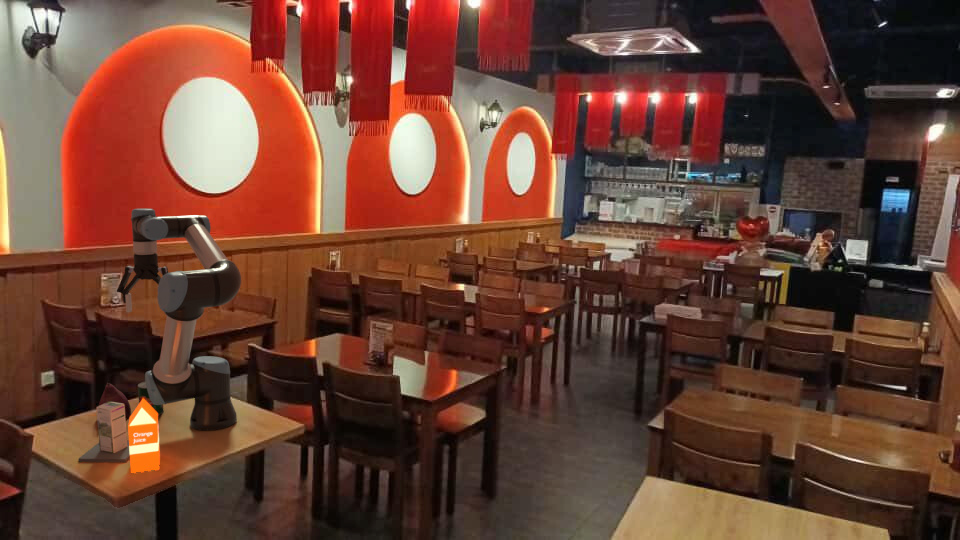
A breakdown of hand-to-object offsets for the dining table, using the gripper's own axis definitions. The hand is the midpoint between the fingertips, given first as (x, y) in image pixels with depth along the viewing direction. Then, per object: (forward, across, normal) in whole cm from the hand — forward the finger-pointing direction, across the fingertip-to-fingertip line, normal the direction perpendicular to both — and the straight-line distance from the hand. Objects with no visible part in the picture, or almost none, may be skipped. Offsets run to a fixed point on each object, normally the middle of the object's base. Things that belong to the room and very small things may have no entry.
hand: (148, 312), depth 242 cm
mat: (+37, -3, +35) cm, 51 cm away
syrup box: (+36, -3, +35) cm, 50 cm away
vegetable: (+37, +11, +6) cm, 39 cm away
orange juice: (+37, -17, +44) cm, 60 cm away
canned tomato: (+37, 0, +2) cm, 37 cm away
